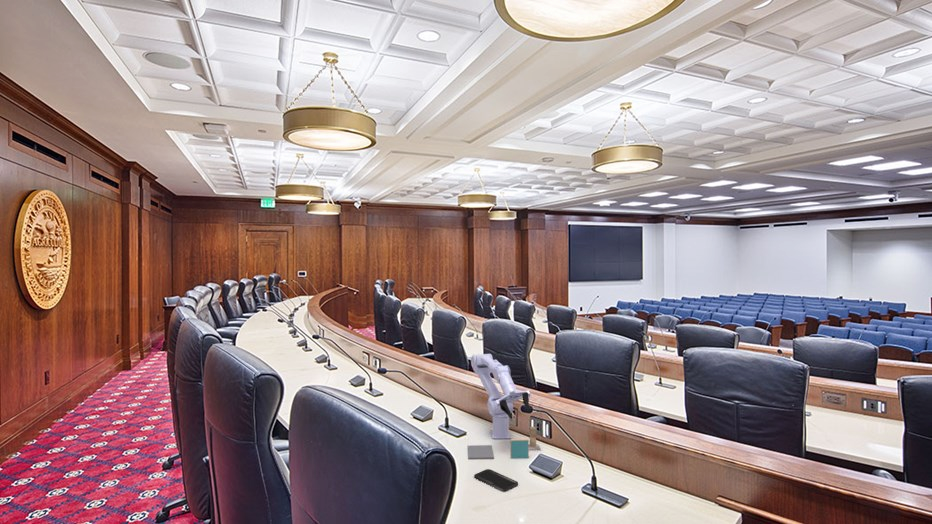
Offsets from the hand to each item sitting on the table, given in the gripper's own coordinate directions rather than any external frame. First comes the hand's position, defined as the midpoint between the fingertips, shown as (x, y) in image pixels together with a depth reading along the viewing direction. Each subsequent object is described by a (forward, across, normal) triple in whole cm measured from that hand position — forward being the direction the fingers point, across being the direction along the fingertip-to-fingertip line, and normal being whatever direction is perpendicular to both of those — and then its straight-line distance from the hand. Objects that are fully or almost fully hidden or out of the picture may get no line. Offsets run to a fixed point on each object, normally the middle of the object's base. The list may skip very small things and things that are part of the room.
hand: (520, 414), depth 179 cm
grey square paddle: (+6, +2, +17) cm, 18 cm away
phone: (+24, -18, -2) cm, 30 cm away
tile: (+11, -5, +11) cm, 16 cm away
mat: (+3, -19, +11) cm, 22 cm away
